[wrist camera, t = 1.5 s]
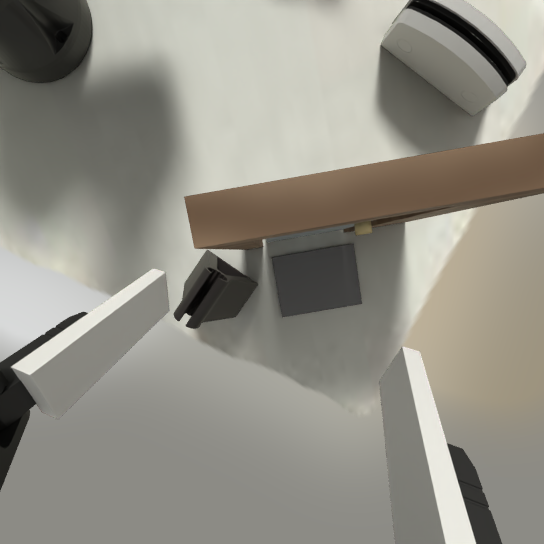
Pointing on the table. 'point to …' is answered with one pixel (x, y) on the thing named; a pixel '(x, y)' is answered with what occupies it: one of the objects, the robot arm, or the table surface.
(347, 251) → the mat
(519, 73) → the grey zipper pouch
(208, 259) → the phone stand
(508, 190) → the door frame
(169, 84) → the table surface
